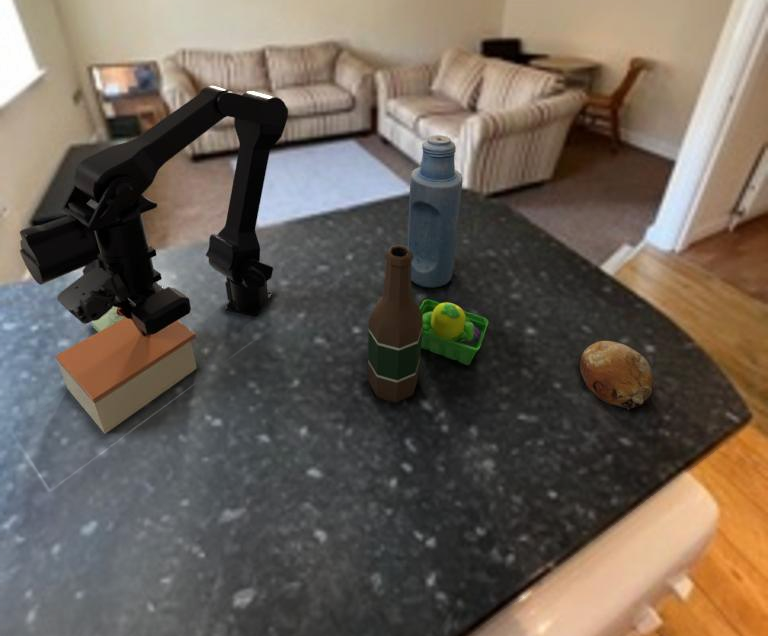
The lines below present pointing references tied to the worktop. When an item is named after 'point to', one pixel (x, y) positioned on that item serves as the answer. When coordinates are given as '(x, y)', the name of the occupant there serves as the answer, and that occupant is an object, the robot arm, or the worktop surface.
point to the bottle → (434, 213)
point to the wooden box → (135, 389)
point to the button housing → (107, 319)
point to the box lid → (119, 355)
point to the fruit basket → (451, 331)
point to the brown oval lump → (616, 374)
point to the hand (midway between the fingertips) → (145, 333)
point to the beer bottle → (395, 332)
